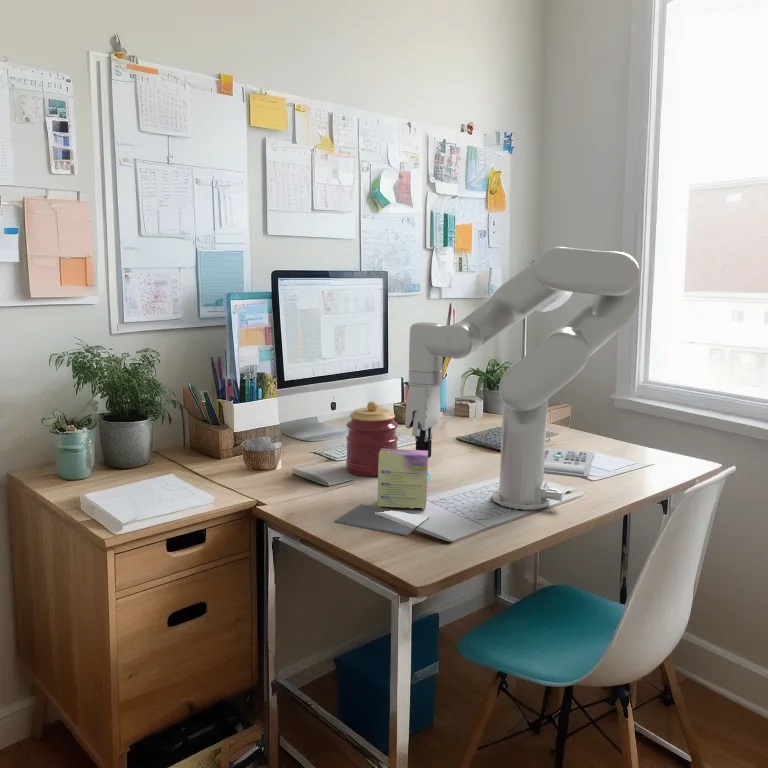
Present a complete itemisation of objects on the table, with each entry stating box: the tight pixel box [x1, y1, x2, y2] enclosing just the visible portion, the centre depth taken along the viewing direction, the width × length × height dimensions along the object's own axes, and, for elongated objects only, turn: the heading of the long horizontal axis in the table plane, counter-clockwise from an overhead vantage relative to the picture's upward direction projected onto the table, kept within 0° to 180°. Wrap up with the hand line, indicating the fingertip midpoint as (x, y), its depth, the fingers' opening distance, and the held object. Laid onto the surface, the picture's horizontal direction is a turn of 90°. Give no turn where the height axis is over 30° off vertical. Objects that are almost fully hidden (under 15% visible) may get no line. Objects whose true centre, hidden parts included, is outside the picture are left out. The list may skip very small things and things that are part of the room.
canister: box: [345, 400, 399, 477], centre depth 182 cm, size 13×13×18 cm
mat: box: [334, 503, 415, 537], centre depth 149 cm, size 16×12×1 cm
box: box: [376, 448, 429, 510], centre depth 157 cm, size 10×6×12 cm, turn 84°
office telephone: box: [544, 447, 596, 479], centre depth 194 cm, size 23×3×20 cm
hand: (423, 456), depth 166 cm, fingers closed
